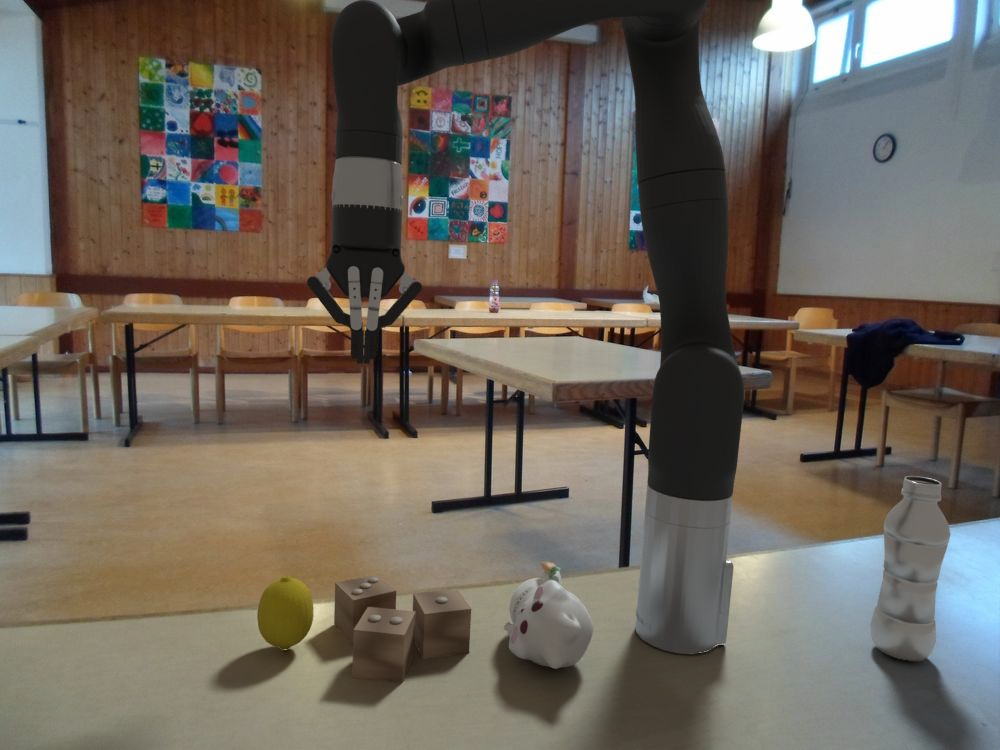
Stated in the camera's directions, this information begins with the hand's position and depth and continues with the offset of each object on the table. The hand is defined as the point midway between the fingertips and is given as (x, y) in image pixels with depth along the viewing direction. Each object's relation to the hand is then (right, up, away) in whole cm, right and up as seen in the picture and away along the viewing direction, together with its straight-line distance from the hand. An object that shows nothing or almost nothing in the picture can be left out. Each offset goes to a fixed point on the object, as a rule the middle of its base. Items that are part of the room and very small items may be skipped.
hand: (363, 363), depth 81 cm
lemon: (-7, -30, -6) cm, 31 cm away
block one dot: (+9, -30, -3) cm, 32 cm away
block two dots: (+4, -31, -8) cm, 32 cm away
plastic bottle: (+60, -33, 0) cm, 68 cm away
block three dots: (0, -30, -1) cm, 30 cm away
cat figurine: (+20, -31, -4) cm, 37 cm away
